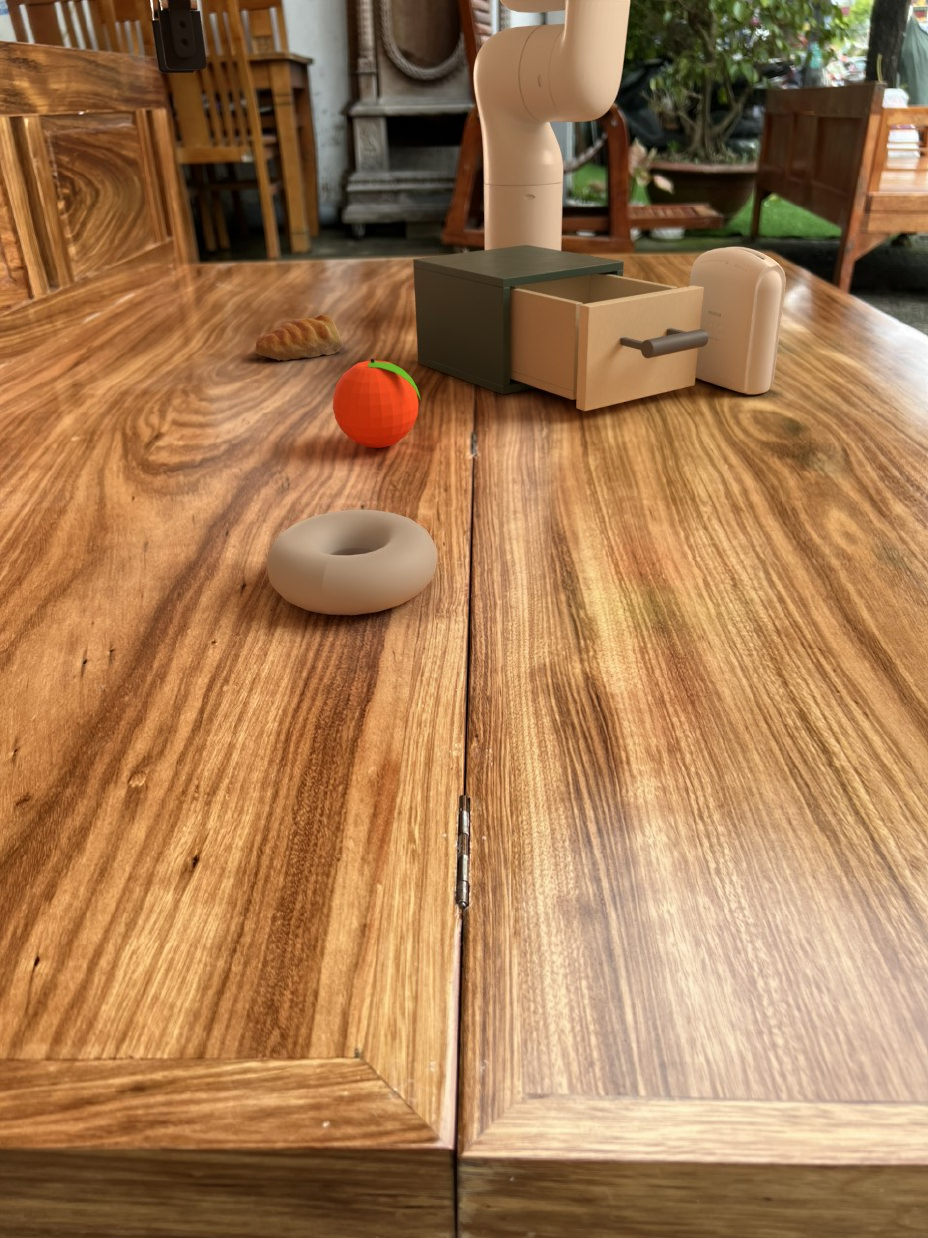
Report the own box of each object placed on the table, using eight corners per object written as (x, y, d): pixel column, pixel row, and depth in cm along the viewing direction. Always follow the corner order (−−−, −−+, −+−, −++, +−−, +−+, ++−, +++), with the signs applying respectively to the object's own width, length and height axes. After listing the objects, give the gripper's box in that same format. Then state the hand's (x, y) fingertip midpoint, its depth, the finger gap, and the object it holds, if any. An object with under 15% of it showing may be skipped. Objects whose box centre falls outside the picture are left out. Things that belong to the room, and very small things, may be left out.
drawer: (729, 395, 86) (740, 293, 82) (618, 423, 80) (624, 314, 76) (592, 355, 100) (596, 267, 96) (488, 377, 94) (487, 283, 89)
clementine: (447, 442, 79) (444, 355, 76) (398, 467, 74) (393, 376, 71) (370, 428, 83) (364, 345, 80) (319, 451, 78) (310, 363, 75)
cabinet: (618, 369, 98) (623, 261, 93) (503, 394, 91) (502, 278, 86) (526, 342, 110) (526, 244, 105) (417, 363, 103) (412, 258, 98)
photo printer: (674, 374, 96) (685, 243, 90) (709, 368, 98) (722, 239, 92) (743, 398, 88) (760, 257, 82) (779, 392, 90) (798, 252, 84)
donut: (433, 548, 61) (276, 553, 61) (432, 497, 60) (271, 502, 59) (444, 623, 53) (260, 631, 52) (443, 566, 51) (253, 573, 50)
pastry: (274, 366, 103) (269, 330, 101) (245, 356, 108) (240, 321, 106) (348, 351, 108) (345, 317, 106) (317, 342, 113) (313, 309, 111)
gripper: (208, -215, 67) (239, 67, 75) (187, -158, 81) (215, 73, 90) (95, -223, 65) (140, 68, 73) (94, -163, 79) (132, 74, 88)
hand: (182, 70), depth 81 cm, fingers open, 9 cm apart
